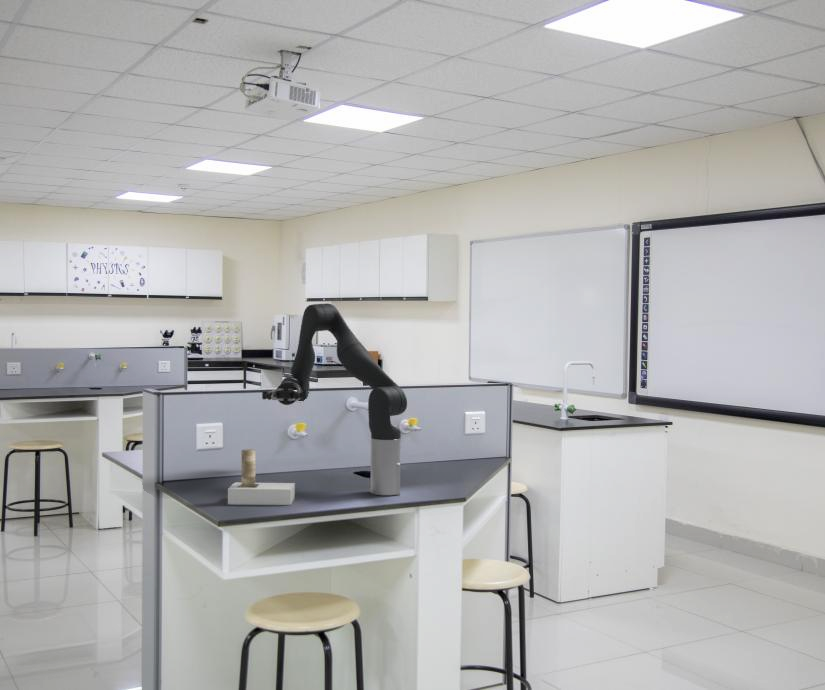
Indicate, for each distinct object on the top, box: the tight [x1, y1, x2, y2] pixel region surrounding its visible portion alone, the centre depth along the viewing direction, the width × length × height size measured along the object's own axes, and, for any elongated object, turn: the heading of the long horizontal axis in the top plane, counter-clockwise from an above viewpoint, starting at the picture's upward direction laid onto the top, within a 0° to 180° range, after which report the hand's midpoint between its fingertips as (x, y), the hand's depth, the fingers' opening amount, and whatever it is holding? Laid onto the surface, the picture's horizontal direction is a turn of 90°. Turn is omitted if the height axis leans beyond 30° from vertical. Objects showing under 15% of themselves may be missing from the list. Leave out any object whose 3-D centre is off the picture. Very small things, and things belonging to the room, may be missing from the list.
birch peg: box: [241, 448, 256, 488], centre depth 248 cm, size 4×4×15 cm
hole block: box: [227, 481, 296, 506], centre depth 248 cm, size 18×10×4 cm, turn 91°
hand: (282, 396), depth 268 cm, fingers open, 8 cm apart
